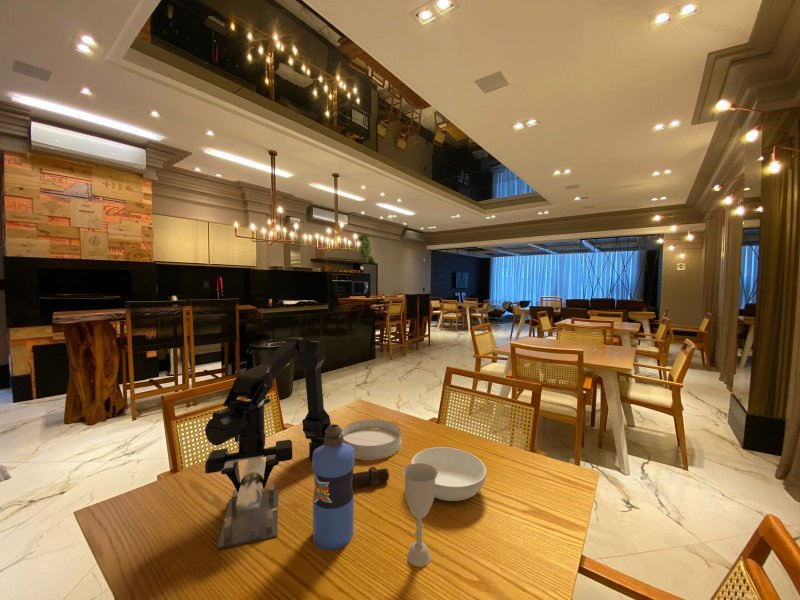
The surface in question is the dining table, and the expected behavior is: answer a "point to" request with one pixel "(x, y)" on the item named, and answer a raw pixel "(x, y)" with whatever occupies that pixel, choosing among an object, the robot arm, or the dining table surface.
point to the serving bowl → (453, 472)
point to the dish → (372, 438)
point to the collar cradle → (250, 521)
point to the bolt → (370, 477)
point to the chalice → (419, 506)
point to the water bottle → (333, 491)
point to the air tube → (251, 487)
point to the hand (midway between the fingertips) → (251, 489)
